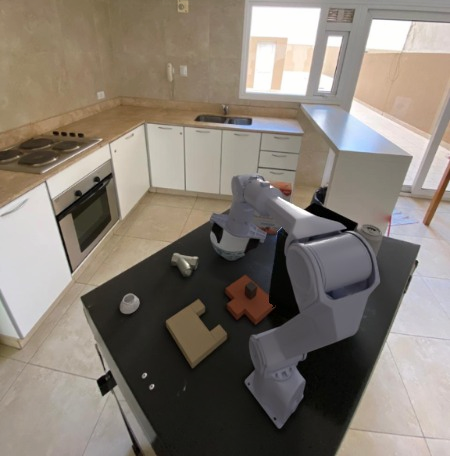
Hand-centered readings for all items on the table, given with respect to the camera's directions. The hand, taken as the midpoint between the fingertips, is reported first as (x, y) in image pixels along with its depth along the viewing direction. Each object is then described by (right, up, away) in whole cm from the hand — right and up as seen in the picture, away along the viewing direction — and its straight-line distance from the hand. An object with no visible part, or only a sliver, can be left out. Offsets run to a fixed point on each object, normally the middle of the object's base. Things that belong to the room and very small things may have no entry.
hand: (232, 245), depth 69 cm
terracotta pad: (+4, -17, +2) cm, 17 cm away
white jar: (-28, -16, 0) cm, 32 cm away
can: (+47, -11, +21) cm, 52 cm away
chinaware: (0, -10, +20) cm, 22 cm away
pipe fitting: (-15, -12, +12) cm, 23 cm away
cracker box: (+15, -5, +33) cm, 36 cm away
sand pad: (-9, -19, -6) cm, 22 cm away
